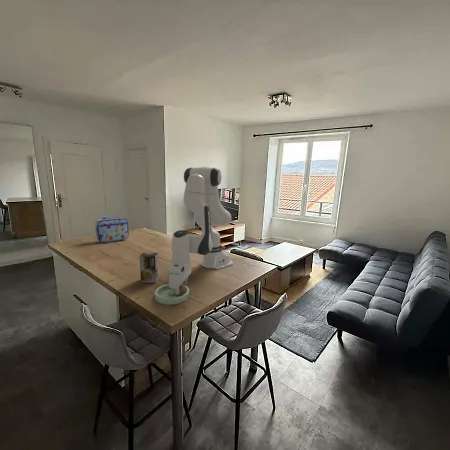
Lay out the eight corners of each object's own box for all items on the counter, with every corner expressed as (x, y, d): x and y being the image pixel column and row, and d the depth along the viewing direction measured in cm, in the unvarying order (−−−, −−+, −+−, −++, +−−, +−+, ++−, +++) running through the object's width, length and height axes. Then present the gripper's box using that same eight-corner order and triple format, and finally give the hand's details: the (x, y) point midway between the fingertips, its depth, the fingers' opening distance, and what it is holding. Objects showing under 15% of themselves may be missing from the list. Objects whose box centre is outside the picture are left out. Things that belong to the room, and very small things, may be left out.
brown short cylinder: (179, 293, 126) (179, 284, 125) (186, 294, 125) (186, 285, 124) (175, 296, 122) (175, 287, 121) (183, 298, 121) (183, 288, 120)
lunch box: (97, 244, 206) (95, 219, 201) (94, 241, 213) (92, 217, 209) (130, 239, 223) (128, 216, 218) (126, 237, 231) (125, 214, 226)
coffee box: (159, 278, 145) (158, 252, 142) (156, 282, 139) (155, 256, 135) (143, 277, 145) (142, 252, 141) (140, 282, 138) (139, 255, 135)
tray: (181, 285, 136) (181, 280, 135) (194, 299, 122) (194, 293, 121) (151, 292, 127) (151, 287, 126) (161, 308, 113) (161, 302, 112)
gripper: (183, 255, 131) (183, 279, 134) (166, 270, 111) (166, 297, 114) (194, 257, 129) (194, 281, 132) (178, 272, 110) (179, 299, 113)
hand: (181, 288), depth 123 cm, fingers open, 8 cm apart
